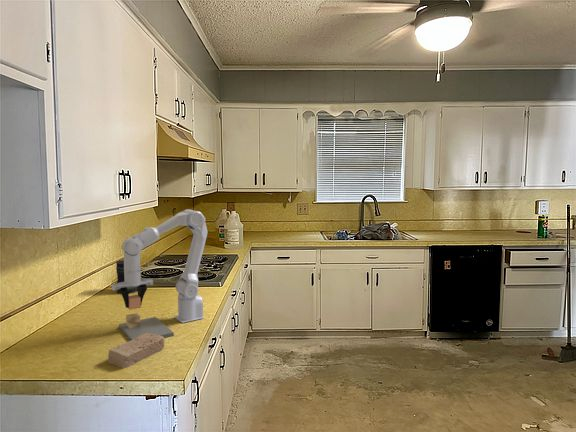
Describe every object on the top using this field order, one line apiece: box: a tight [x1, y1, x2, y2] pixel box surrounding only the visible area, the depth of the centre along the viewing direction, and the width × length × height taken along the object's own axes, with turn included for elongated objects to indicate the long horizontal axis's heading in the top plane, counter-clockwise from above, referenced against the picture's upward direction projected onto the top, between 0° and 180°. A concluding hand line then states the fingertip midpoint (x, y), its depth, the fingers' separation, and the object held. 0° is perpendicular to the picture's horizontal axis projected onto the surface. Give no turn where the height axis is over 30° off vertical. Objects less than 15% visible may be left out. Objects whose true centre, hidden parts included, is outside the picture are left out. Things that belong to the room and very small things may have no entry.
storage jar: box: [115, 259, 138, 295], centre depth 205 cm, size 10×10×15 cm
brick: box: [107, 333, 165, 369], centre depth 134 cm, size 17×8×5 cm, turn 151°
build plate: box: [118, 316, 175, 341], centre depth 154 cm, size 14×20×1 cm
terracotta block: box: [127, 294, 142, 311], centre depth 155 cm, size 4×4×4 cm
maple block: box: [125, 312, 141, 329], centre depth 156 cm, size 4×4×4 cm
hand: (133, 305), depth 155 cm, fingers closed on terracotta block, 4 cm apart
